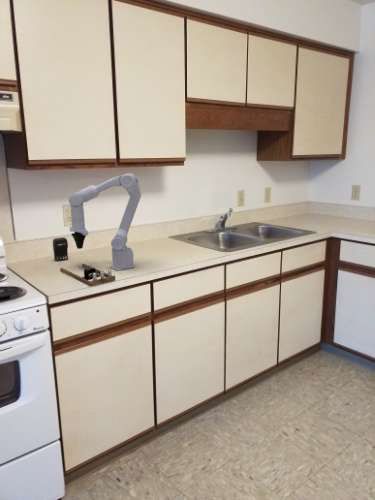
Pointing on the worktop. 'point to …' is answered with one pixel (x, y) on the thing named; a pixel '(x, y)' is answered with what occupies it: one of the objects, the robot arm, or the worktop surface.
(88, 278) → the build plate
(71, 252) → the worktop surface
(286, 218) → the worktop surface
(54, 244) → the battery charger
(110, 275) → the loading bay
